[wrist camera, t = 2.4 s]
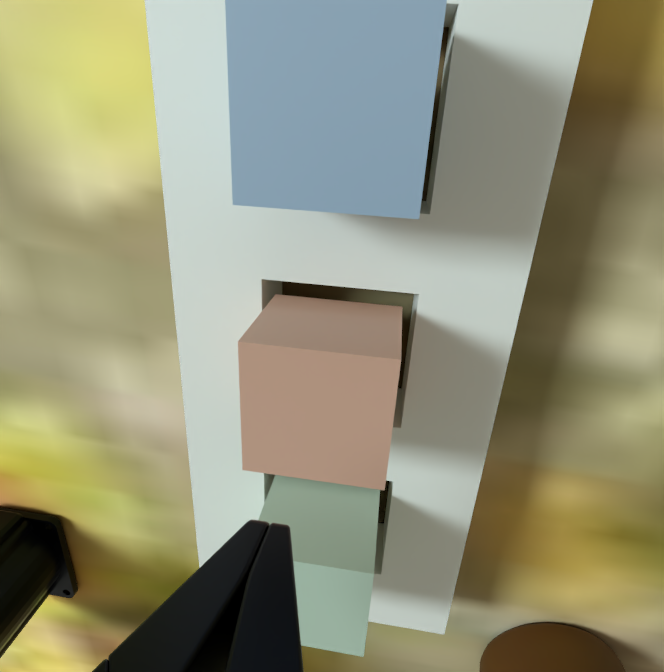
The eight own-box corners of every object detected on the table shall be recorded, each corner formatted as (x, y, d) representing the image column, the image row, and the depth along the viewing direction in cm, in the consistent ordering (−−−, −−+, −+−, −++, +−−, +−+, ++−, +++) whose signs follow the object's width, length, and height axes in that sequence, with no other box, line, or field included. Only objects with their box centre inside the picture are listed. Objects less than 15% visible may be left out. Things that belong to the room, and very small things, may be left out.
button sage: (371, 564, 21) (363, 656, 17) (275, 549, 21) (248, 635, 18) (380, 489, 19) (374, 574, 15) (275, 474, 19) (245, 553, 16)
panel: (439, 578, 25) (444, 634, 22) (223, 543, 26) (201, 592, 23) (586, -109, 13) (633, -171, 10) (181, -108, 14) (129, -163, 12)
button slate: (415, 196, 14) (419, 219, 10) (275, 186, 15) (232, 205, 11) (436, 25, 12) (448, -18, 9) (275, 20, 13) (224, -22, 9)
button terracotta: (389, 415, 17) (384, 490, 14) (275, 401, 18) (242, 470, 14) (402, 306, 16) (401, 359, 12) (275, 294, 16) (237, 341, 12)
